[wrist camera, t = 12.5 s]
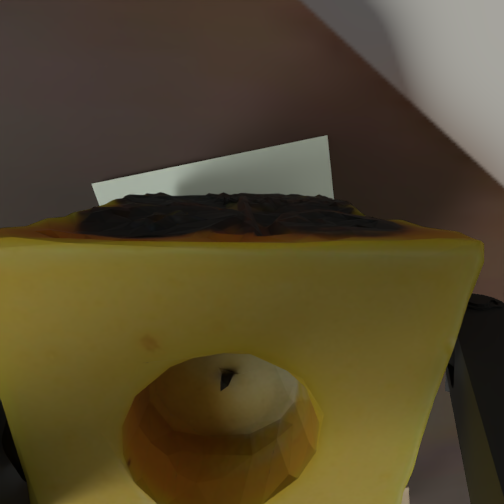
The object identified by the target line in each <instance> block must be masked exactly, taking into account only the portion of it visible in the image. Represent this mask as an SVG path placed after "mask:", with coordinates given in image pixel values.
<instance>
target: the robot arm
mask: <svg viewBox="0 0 504 504" xmlns="http://www.w3.org/2000/svg"><path fill="white" fill-rule="evenodd" d="M445 391H448V392H450V396H451V402H452V407H453V412H454V417H455V423H456V428H457V433H458V439H459V444H460V449H461V454H462V460H463V465H464V470H465V475H466V481H467V486H468V491H469V496H470V502H471V504H504V303H503V302H502V301H499V300H497V299H495V298H492V297H489V296H485V295H479V294H471V297H470V299H469V302H468V304H467V308H466V311H465V314H464V317H463V321H462V324H461V327H460V330H459V333H458V337H457V340H456V343H455V346H454V349H453V352H452V354H451V357H450V360H449V362H448V365H447V367H446V382H445ZM0 504H30V499H29V493H28V487H27V481H26V478H25V475H24V472H23V469H22V465H21V462H20V459H19V456H18V453H17V450H16V447H15V444H14V440H13V437H12V434H11V431H10V427H9V424H8V421H7V418H6V415H5V411H4V408H3V405H2V402H1V399H0Z"/></svg>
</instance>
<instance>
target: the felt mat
mask: <svg viewBox="0 0 504 504" xmlns="http://www.w3.org/2000/svg"><path fill="white" fill-rule="evenodd" d="M92 187H93V190H94V192H95V195H96V198H97V200H98V203H99V206H101V205H105V204H107V203H108V202H110V201H112V200H115V199H120V198H123V197H124V196H126V195H129V194H134V195H145V194H146V193H150V194H156V193H159V192H163V193H166V194H168V195H171V196H185V195H207V194H208V193H212V194H220V193H223V192H224V193H227V194H229V195H232V194H239V193H251V194H275V193H279V194H284V195H289V194H299V195H303V196H317V195H319V194H320V195H322V196H326V197H328V198H333V199H334V195H333V185H332V175H331V165H330V156H329V146H328V136H327V135H326V136H321V137H316V138H311V139H306V140H302V141H297V142H292V143H287V144H282V145H277V146H272V147H268V148H263V149H258V150H253V151H248V152H243V153H239V154H234V155H229V156H224V157H219V158H214V159H209V160H205V161H200V162H195V163H190V164H185V165H180V166H176V167H171V168H166V169H161V170H156V171H151V172H146V173H142V174H137V175H132V176H127V177H122V178H117V179H112V180H108V181H103V182H98V183H93V184H92Z"/></svg>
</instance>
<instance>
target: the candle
mask: <svg viewBox="0 0 504 504" xmlns="http://www.w3.org/2000/svg"><path fill="white" fill-rule="evenodd" d="M483 263H484V244H483V243H482V242H481V241H479V240H476V239H473V238H470V237H468V236H466V235H464V234H462V233H460V232H456V231H449V230H442V229H435V228H428V227H422V226H419V225H416V224H413V223H409V222H406V221H403V220H382V219H377V218H373V217H367V216H365V215H364V214H362V213H360V212H359V211H358V210H357V209H356V208H355V207H353V206H352V204H351V203H349V202H347V201H341V200H337V199H333V198H328V197H326V196H322V195H320V194H319V195H317V196H303V195H299V194H289V195H284V194H279V193H275V194H251V193H239V194H232V195H229V194H227V193H224V192H223V193H220V194H212V193H208V194H207V195H185V196H171V195H168V194H166V193H163V192H159V193H156V194H150V193H146V194H145V195H134V194H129V195H126V196H124V197H123V198H120V199H115V200H112V201H110V202H108V203H107V204H105V205H101V206H98V207H93V208H91V209H87V210H83V211H78V212H74V213H71V214H69V215H67V216H66V217H58V218H47V219H44V220H41V221H39V222H36V223H33V224H31V225H28V226H24V227H8V228H0V399H1V402H2V405H3V408H4V411H5V415H6V418H7V421H8V424H9V427H10V431H11V434H12V437H13V440H14V444H15V447H16V450H17V453H18V456H19V459H20V462H21V465H22V469H23V472H24V475H25V478H26V481H27V487H28V493H29V499H30V504H401V503H402V497H403V492H404V490H405V488H406V485H407V483H408V481H409V478H410V476H411V474H412V471H413V469H414V465H415V462H416V458H417V454H418V450H419V446H420V443H421V440H422V436H423V433H424V430H425V427H426V424H427V421H428V418H429V414H430V411H431V408H432V405H433V402H434V399H435V396H436V393H437V391H438V388H439V386H440V383H441V380H442V378H443V375H444V373H445V370H446V367H447V365H448V362H449V360H450V357H451V354H452V352H453V349H454V346H455V343H456V340H457V337H458V333H459V330H460V327H461V324H462V321H463V317H464V314H465V311H466V308H467V304H468V302H469V299H470V297H471V294H472V291H473V289H474V286H475V284H476V281H477V279H478V276H479V273H480V271H481V268H482V266H483Z"/></svg>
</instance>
